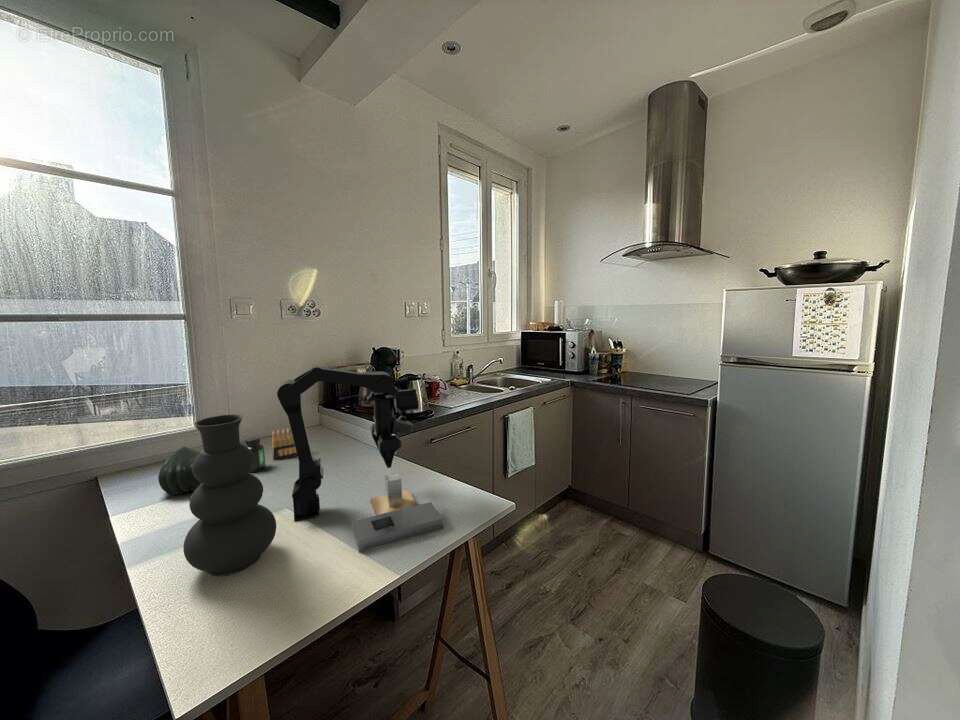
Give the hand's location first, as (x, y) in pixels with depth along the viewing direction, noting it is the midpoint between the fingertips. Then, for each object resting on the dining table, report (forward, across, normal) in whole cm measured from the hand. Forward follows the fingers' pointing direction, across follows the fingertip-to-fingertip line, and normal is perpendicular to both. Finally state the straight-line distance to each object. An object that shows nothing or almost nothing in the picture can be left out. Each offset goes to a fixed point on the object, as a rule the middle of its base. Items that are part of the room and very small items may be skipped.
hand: (386, 462), depth 120 cm
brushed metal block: (+11, -6, -1) cm, 12 cm away
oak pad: (+12, -6, -1) cm, 13 cm away
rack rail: (+12, -19, +1) cm, 23 cm away
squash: (+12, +36, +60) cm, 71 cm away
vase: (+12, -15, +39) cm, 44 cm away
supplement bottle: (+12, +45, +41) cm, 62 cm away
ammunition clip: (+12, +53, +30) cm, 62 cm away
